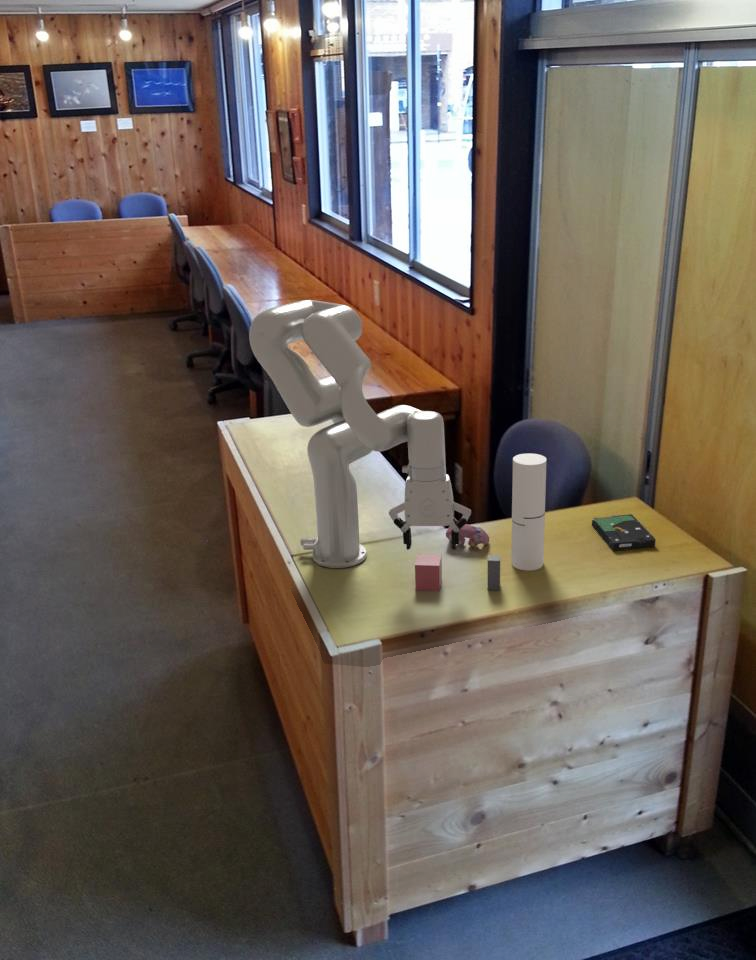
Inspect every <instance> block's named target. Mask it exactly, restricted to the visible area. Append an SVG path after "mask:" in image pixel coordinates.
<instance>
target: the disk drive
mask: <svg viewBox="0 0 756 960" xmlns="http://www.w3.org/2000/svg"><path fill="white" fill-rule="evenodd" d="M592 526H593V527H592ZM591 527H592V528H593V529H595V530H596V531H597V532H598V533H597V532H596V531H595V532H596V533H597V534H598V535H599V537H600V538H601V537H602V538H601V539H602V540H603V541H604V543H605V544H606V543H607V544H606V545H607V546H608V548H609V549H610V550H611V551H612V552H620V551H621V552H622V551H635V550H644V549H645V550H646V549H653V548H656V539H657V538H655V537H654V536H653V534H651V533H650V531H649V530H647V528H646V527H645V526H643V524H641V522H640V521H639V520H638V519H637V518H636V517H635V516H634V515H633V514H620V515H611V516H604V517H593V519H592V520H591Z"/></svg>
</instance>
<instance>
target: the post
mask: <svg viewBox="0 0 756 960" xmlns="http://www.w3.org/2000/svg"><path fill="white" fill-rule="evenodd" d="M500 590H501V554H500V555H499V554H498V555H497V554H487V591H500Z"/></svg>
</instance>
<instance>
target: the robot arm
mask: <svg viewBox="0 0 756 960" xmlns="http://www.w3.org/2000/svg"><path fill="white" fill-rule="evenodd" d="M362 321H363V320H362V319H361V316H359V314H358V313H357V311H355V310H354V309H353V308H352V307H350V306H348V305H345V304H340V303H336V302H335V303H334V302H327V301H319V300H314V299H303V300H298V301H295V302H290V303H287V304H282V305H278V306H274V307H271V308H268V309H265V310H263V311H262V312H260V313H258V314H257V315H256V316H255V317H254V318H253V319H252V321H251V324H250V327H249V331H248V332H249V333H248V336H249V337H248V339H249V344H250V349H251V351H252V353H253V356H254V357H255V359H256V360H257V362H258V363H259V364H260V365H261V367H262V368H263V370H264V371H265V372H266V373H267V376H269V377H270V379H271V381H272V382H273V384H274V386H275V388H276V389H277V392H278V393H279V394H280V396H281V398H282V400H283V402H284V403H285V405H286V407H287V409H288V410H289V412H290V414H291V415H292V417H293V418H294V419H295V421H296V422H297V424H299V426H302V427H305V428H310V427H314V426H318V425H320V424H324V423H326V422H328V421H332V422H333V424H330V425H328V426H325V427H323V428H321V429H319V430H317V431H316V432H315V433H314V434H312V436H311V437H310V439H309V440H308V443H307V446H306V447H307V449H306V450H307V452H306V453H307V457H308V461H309V464H310V467H311V472H312V473H311V474H312V478H313V487H314V500H315V514H316V527H317V528H316V530H317V536H314V538H312V537H311V538H309V537H301V538H300V547H303V550H305V551H306V550H307V551H308V550H311V551H312V554H311V555H312V556H311V557H312V560H313V561H314V563H315V564H317V565H319V566H322V567H324V568H328V569H329V568H332V569H344V568H350V567H353V566H356V565H358V564H361V563H362V562H363V561H365V559H366V558H367V556H368V554H367V553H368V551H367V549H366V547H365V546H364V544H363V545H362V544H361V543H360V542H361V541H360V529H359V528H360V526H359V505H358V503H359V502H358V487H357V482H356V481H357V480H356V478H355V476H354V475H353V473H352V471H351V469H350V465H351V464H353V463H355V462H356V461H358V460H360V459H362V458H364V457H366V456H368V455H369V454H371V453H372V452H373V451H374V452H377V453H378V452H384V451H385V452H386V451H387V450H390V449H392V448H394V447H396V446H399V445H400V444H402V443H406V442H407V448H408V449H407V450H408V451H407V453H408V464H407V465H403V466H402V469H401V472H402V473H403V474H404V473H406V474H407V478H406V480H405V483H404V484H405V485H404V502H403V503H400V504H399V505H397V506H394V507H392V508H390V509H389V511H388V515H389V516H390V519H391V521H393V524H394V525H395V526H396V527H397V528H399V530H400V531H401V532H402V535H403V536H402V539H403V541H402V543H403V545H406V550H411V548H412V530H411V529H412V528H411V527H447V526H448V528H449V527H450V528H451V529H452V532H451V539H452V541H451V550H454V551H455V550H456V548H457V544H459V530H460V529H461V528H462V527H463V526H464V525H465V524H467V522H468V520H469V519H470V516H471V515H472V509H470V508H468V507H467V506H464V505H463V504H460V503H457V502H455V501H454V495H453V492H454V491H453V488H452V487H453V486H452V483H451V479H450V476H449V474H447V467H446V444H445V443H446V441H445V424H444V418H443V415H441V413H439V412H436V411H432V410H420V409H418V408H416V407H413V406H411V405H406V404H399V405H395V406H393V407H391V408H388V409H385V410H383V411H381V412H379V413H376V412H375V410H374V409H373V408H372V407H371V406H370V404H369V403H368V401H367V399H366V398H365V395H364V392H363V381H364V379H365V377H366V376H367V375H368V374H369V372H370V370H371V367H372V363H371V359H370V358H369V357H368V356H367V354H365V352H364V351H363V350H362V348H361V347H360V346H359V344H358V343H357V342H356V341H357V340H358V339H359V338H360V337H361V335H362V334H363V322H362ZM300 341H304V342H305V344H306V345H307V346H308V349H310V350H311V352H312V353H313V355H314V356H315V357H316V358H317V360H318V361H319V362H320V364H321V365H322V367H324V368H325V370H326V372H327V373H328V374H329V375H328V376H324V377H320V378H318V379H317V378H316V377H315V375H314V374H313V373H312V370H311V369H310V368H309V365H308V363H307V362H306V361H305V360H304V359H303V358H302V356H300V355H299V354H298V353H297V352H295V351H294V350H292V349H290V347H289V345H290V344H293V343H296V342H300ZM455 511H456V512H457V513H459V514H462V516H461V517H460V519H458V520H457V519H456V518H455ZM402 512H404V520H403V519H402V518H401V517H400V516H399V514H400V513H402Z"/></svg>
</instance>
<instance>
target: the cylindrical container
mask: <svg viewBox="0 0 756 960" xmlns="http://www.w3.org/2000/svg"><path fill="white" fill-rule="evenodd" d="M546 483H547V457H546V456H544V455H542V454H538V453H519V454H516V455H515V456H513V457H512V488H511V489H512V492H511V493H512V496H511V499H512V500H511V502H512V503H511V545H510V546H511V555H510V557H511V558H510V563H511V565H512V567H513V568H514V569H517V570H521V571H529V572H530V571H537V570H539V569H541V568H542V567H543V566H544V553H545V524H546V522H545V520H546V519H545V518H546V493H547V491H546V489H547V487H546V486H547V484H546Z"/></svg>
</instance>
